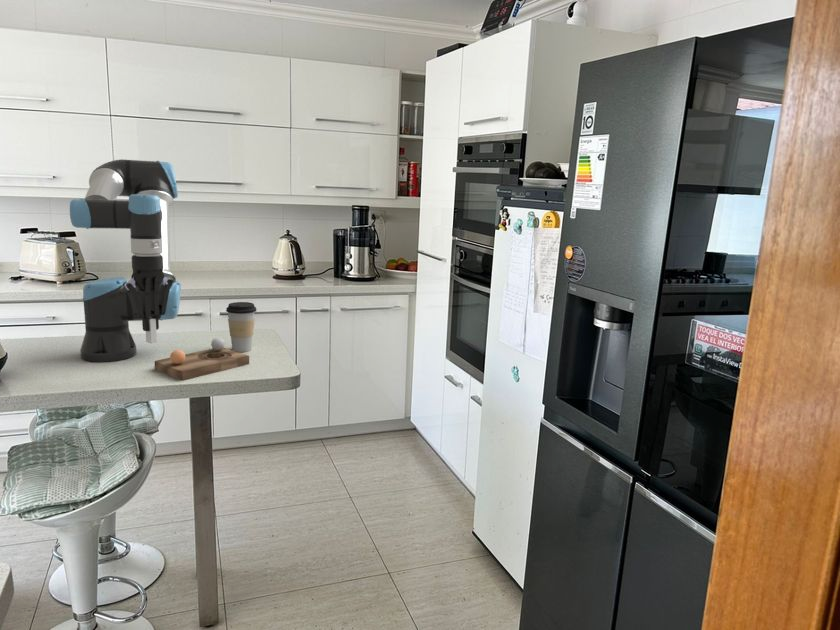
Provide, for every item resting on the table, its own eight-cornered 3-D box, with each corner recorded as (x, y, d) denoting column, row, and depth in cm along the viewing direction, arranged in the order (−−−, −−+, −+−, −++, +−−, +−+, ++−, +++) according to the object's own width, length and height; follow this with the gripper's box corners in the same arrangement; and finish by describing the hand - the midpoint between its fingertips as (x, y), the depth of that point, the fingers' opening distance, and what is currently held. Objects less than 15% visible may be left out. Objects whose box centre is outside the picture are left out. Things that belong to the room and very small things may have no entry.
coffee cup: (226, 354, 192) (225, 307, 189) (227, 346, 201) (226, 301, 198) (257, 353, 195) (256, 307, 192) (256, 345, 204) (256, 301, 201)
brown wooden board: (154, 369, 175) (154, 360, 174) (220, 354, 192) (220, 346, 191) (182, 380, 166) (182, 371, 166) (249, 363, 184) (249, 355, 183)
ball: (167, 363, 172) (166, 350, 171) (180, 361, 175) (179, 347, 174) (175, 366, 170) (175, 352, 169) (188, 363, 173) (188, 350, 172)
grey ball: (208, 350, 187) (208, 337, 186) (220, 347, 190) (219, 335, 189) (216, 352, 184) (216, 340, 184) (227, 350, 188) (227, 337, 187)
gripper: (130, 257, 152) (135, 349, 157) (178, 254, 163) (181, 340, 167) (115, 254, 157) (120, 343, 161) (162, 251, 167) (166, 335, 172)
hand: (151, 342), depth 164 cm, fingers closed
